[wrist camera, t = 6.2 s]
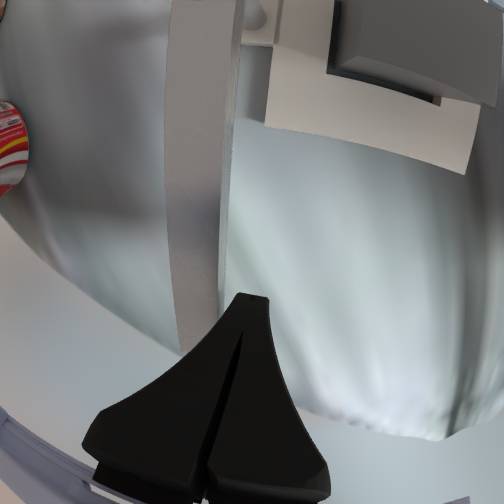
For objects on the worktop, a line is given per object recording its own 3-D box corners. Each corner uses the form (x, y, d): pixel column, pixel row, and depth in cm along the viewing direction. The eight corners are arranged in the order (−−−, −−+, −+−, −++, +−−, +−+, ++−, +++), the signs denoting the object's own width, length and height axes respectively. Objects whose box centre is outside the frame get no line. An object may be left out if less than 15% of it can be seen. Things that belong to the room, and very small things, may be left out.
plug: (433, 30, 8) (502, 12, 3) (425, 94, 10) (495, 109, 5) (341, 1, 9) (365, -49, 4) (334, 68, 11) (358, 55, 6)
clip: (186, -45, 4) (172, -57, 4) (261, -49, 4) (255, -65, 3) (182, 331, 12) (174, 349, 11) (229, 341, 12) (223, 360, 11)
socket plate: (478, 3, 6) (547, -13, 1) (455, 169, 12) (520, 221, 7) (240, -58, 7) (203, -118, 2) (221, 119, 13) (168, 145, 8)
